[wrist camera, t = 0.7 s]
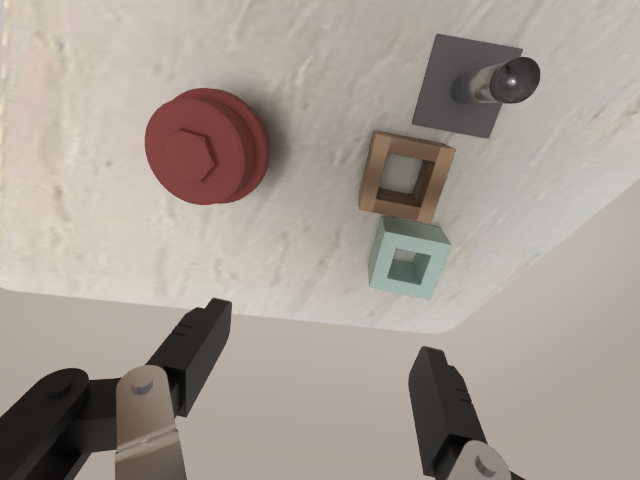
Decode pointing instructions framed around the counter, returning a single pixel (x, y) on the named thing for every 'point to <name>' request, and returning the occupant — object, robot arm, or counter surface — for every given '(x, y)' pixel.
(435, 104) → the mat
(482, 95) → the cylinder
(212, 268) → the counter surface
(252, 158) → the mechanical component
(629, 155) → the counter surface
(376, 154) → the wooden square frame
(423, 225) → the teal block
